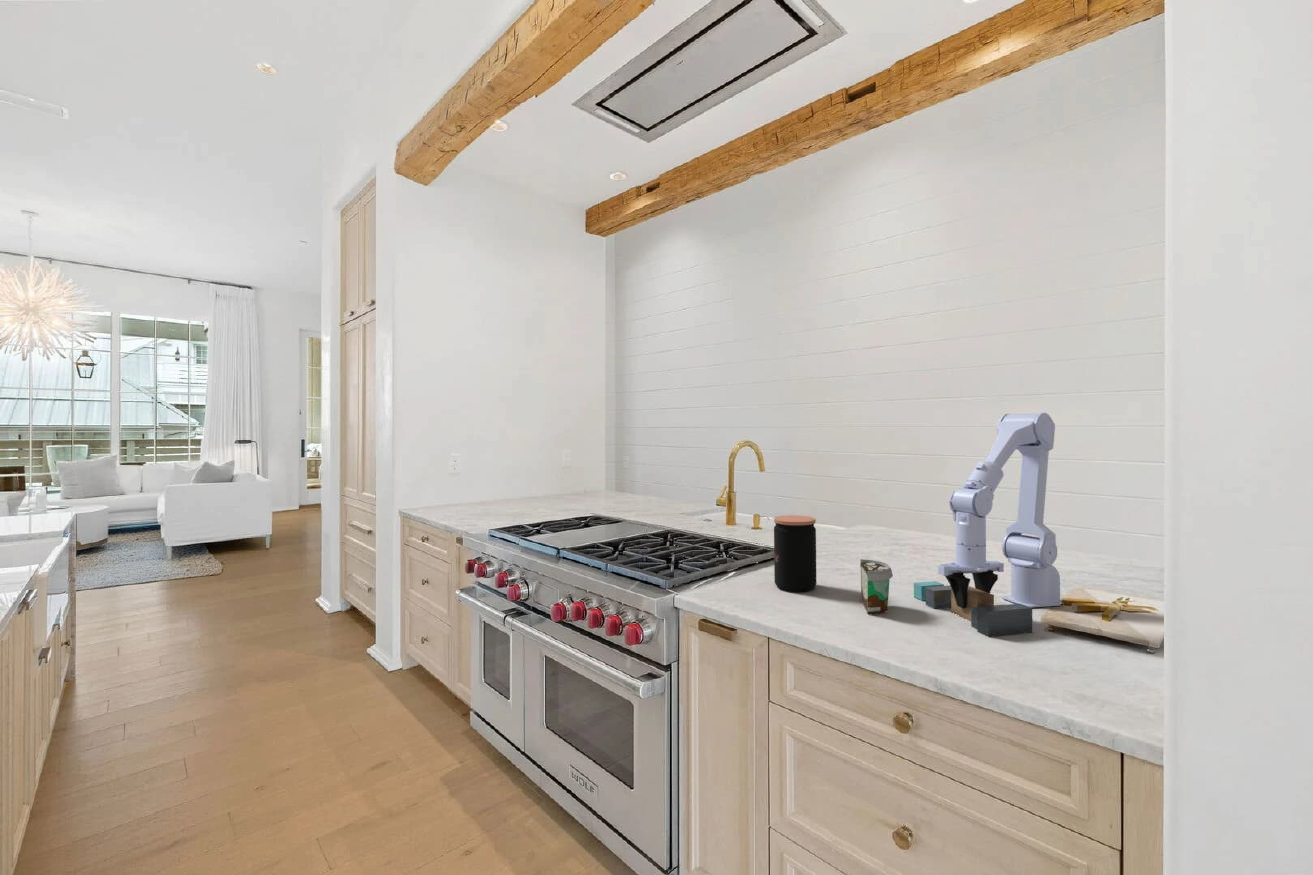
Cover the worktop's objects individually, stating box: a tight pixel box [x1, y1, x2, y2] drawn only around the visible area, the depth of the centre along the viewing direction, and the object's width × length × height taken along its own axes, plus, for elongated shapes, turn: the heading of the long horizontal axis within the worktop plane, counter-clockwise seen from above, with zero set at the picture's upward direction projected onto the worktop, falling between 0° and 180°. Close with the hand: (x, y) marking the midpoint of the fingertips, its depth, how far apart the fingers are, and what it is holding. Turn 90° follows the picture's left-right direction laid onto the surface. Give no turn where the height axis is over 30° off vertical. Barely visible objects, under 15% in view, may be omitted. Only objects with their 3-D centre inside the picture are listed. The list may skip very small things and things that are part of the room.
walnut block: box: [950, 585, 995, 622], centre depth 127 cm, size 4×8×6 cm, turn 11°
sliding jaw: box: [913, 580, 951, 609], centre depth 139 cm, size 8×9×4 cm
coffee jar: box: [773, 514, 817, 593], centre depth 153 cm, size 11×11×18 cm
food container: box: [859, 558, 893, 615], centre depth 134 cm, size 12×6×10 cm, turn 168°
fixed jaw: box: [970, 603, 1033, 638], centre depth 119 cm, size 10×6×5 cm, turn 100°
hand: (971, 606), depth 127 cm, fingers open, 4 cm apart
